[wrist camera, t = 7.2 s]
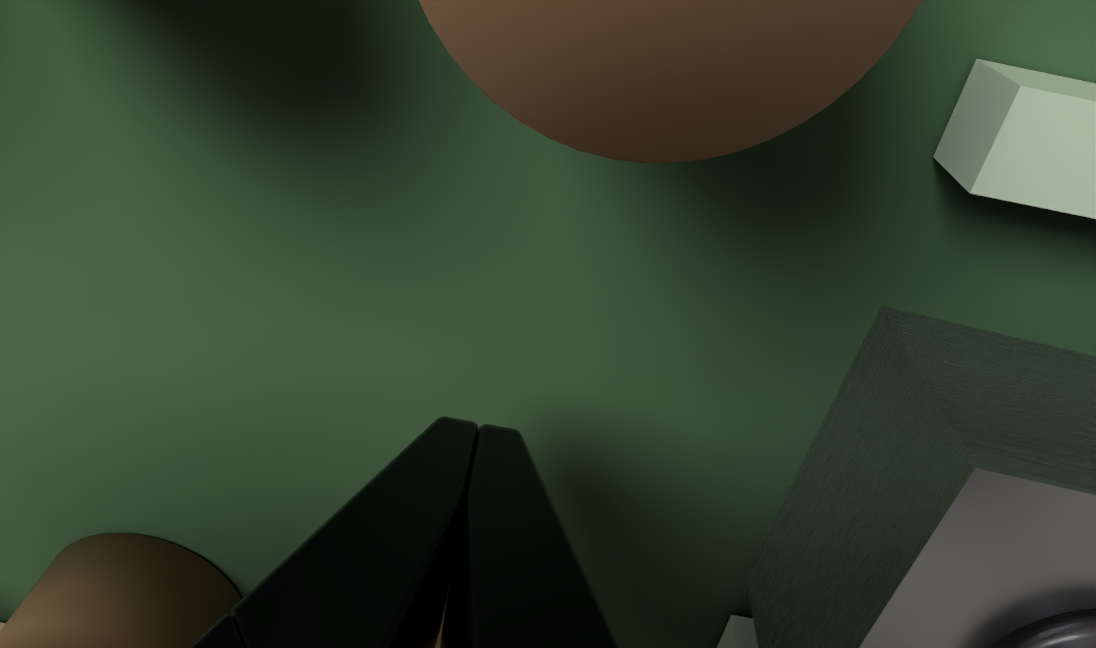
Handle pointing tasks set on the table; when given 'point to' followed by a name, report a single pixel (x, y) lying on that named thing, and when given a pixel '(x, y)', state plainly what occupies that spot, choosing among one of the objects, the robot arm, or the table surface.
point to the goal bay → (1010, 163)
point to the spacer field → (564, 116)
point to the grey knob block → (940, 500)
